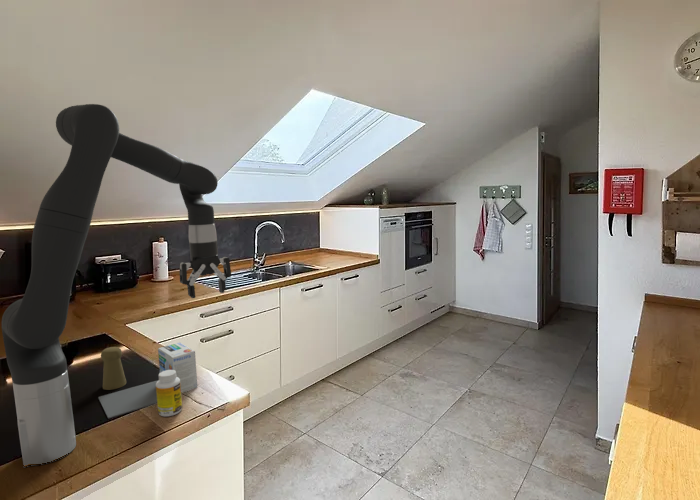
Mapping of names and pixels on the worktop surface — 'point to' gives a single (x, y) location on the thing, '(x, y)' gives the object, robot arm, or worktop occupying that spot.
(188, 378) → the light bulb box
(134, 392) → the mat
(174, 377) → the supplement bottle
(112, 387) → the cork
